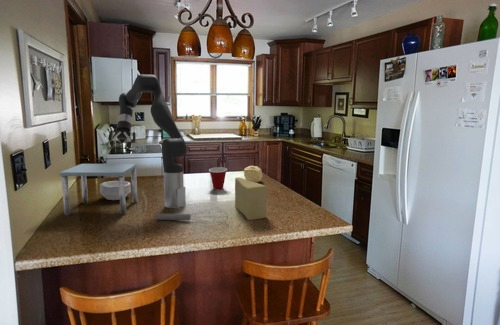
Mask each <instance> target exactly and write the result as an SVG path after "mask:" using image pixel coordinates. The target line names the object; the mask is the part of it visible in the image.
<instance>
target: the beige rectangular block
mask: <svg viewBox="0 0 500 325" xmlns="http://www.w3.org/2000/svg"><path fill="white" fill-rule="evenodd" d="M267 203H268V186H267V185H264V184H261V183H259V182H257V183H255V182H251V181H248V180H246V179H245V178H242V177H240V176H239V177H235V179H234V207H235V208H236V209H237V210H238V211H240V213H242V214H243V215H244V217H245V219H247V221H253V220H258V219H259V220H260V219H266V217H267V215H268V214H267V212H268V210H267V208H268V207H267V205H268V204H267Z"/></svg>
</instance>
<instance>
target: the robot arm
mask: <svg viewBox="0 0 500 325" xmlns="http://www.w3.org/2000/svg"><path fill="white" fill-rule="evenodd" d="M160 84H161V83H160V81H159V79H158V77H157V76H156V75H155V74H144V73H141V74H139V75H137V76H136V78H135V80H134V82H133V84H132V86H131V88H130V89H129V91H127V92H125V93H124V92H122V93H120V95H119V97H118V105H119V115H118V119H117V123H116V129H115V131H113V130H110V131H109V133H108V138H107V139H108V142H110V147H111V149H114V148H115V142H117V141H118V140H123V141H125V140H127V142H128V144H127V149H128V150H130V149H131V148H132V144H135V143H136V137H137V135H136V132H135V131H133V132H132V125H133V114H134V112H133V109H134V108H136V106H137V105H138V101H139V100H140V99H141V98H142V96H143V93H151V94H152V95H153V96H154V98H153V101H152V103H151V105H150V106H151V107H150V114H151V117H152V120H153V122H154V123H155V125H156V126H157V127H158V128H160V129H161V130H162V131H164V132H165V133H166V134H167V135H168V136H169V138H165V139H163V140H162V142H161V156H162V159H161V160H162V168H163V184H164V185H163V188H164V189H163V190H164V207H165V208H167V209H180V208H182V207H185V206H186V204H187V203H186V186H184V165H182V164H180V163H176V162H175V161H174V158H181V157H185V155H187V152H188V146H187V144H186V141H185V139H184V138H183V136H182V134H181V132H180V130H179V128H178V126H177V125H176V122H175V120H174V118H173V114H172V113H171V112H172V111H171V110H170V107H169V106H168V103H167V102H166V99H165V97H164V93H163V90H162V88H161V85H160ZM132 108H133V109H132ZM113 136H114V137H113ZM130 136H131V137H132V139H131V138H130Z"/></svg>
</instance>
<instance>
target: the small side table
mask: <svg viewBox="0 0 500 325" xmlns="http://www.w3.org/2000/svg"><path fill="white" fill-rule="evenodd" d="M137 166H138V164H137V163H81V164H77V165H74V166H73V167H70V168H67V169H65V170H63V171H62V170H61V171H60V172H59V176H60V177H61V178H60V179H61V189H62V199H63V201H62V202H63V213H64V216H70V215H71V204H70V191H69V178H68V177H72V176H73V177H80V183H81V198H82V203H83V204H87V203H88V202H89V198H88V197H89V196H88V184H87V183H88V180H87V177H118V181H119V196H120V200H119V208H120V209H119V212H120V215H121V216H125V215H126V214H127V208H126V206H127V204H126V197H125V182H124V181H125V175H127V174H128V173H130V176H131V177H130V178H131V180H130V181H131V196H132V200H131V201H132V203H133V204H137V203H138V185H137V184H138V182H137Z"/></svg>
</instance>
